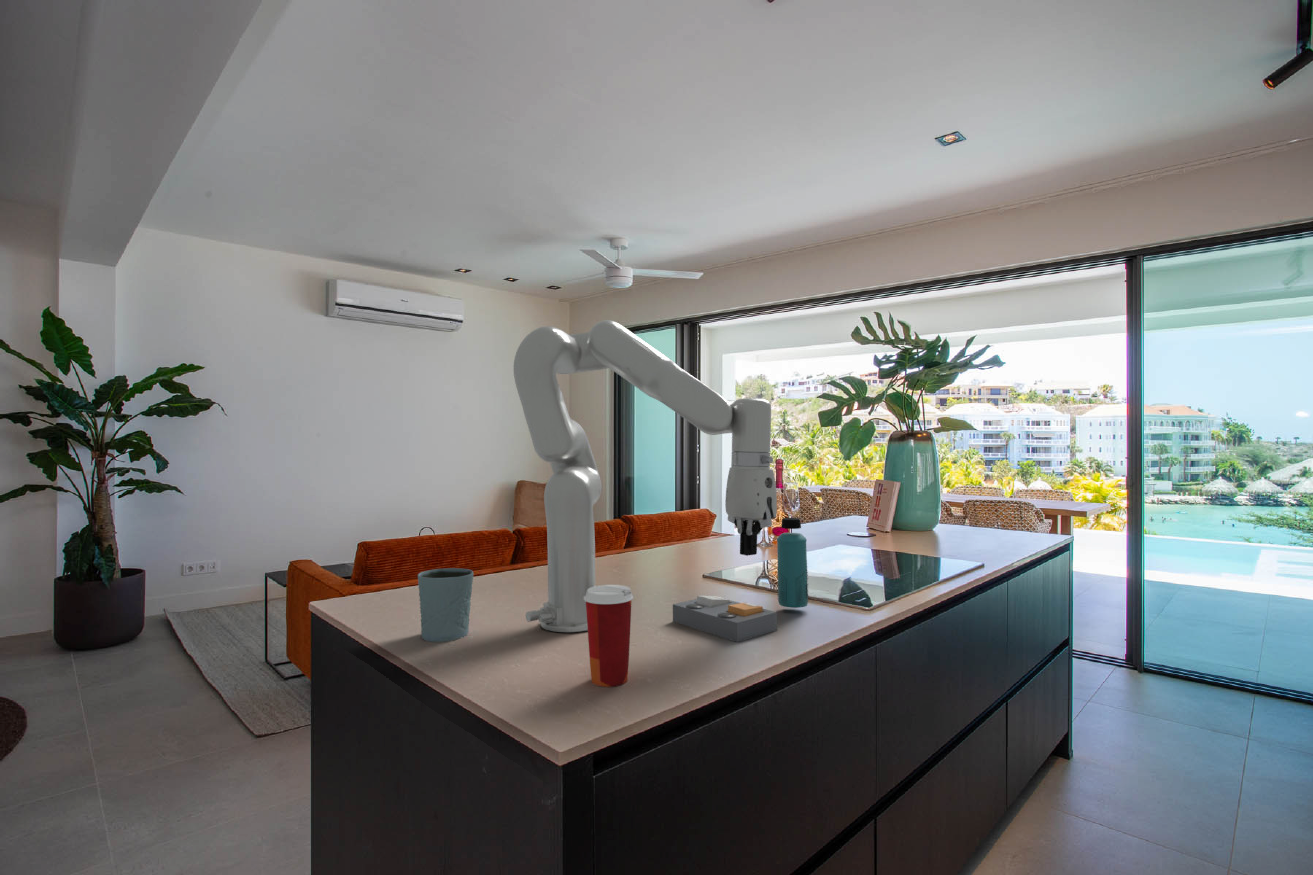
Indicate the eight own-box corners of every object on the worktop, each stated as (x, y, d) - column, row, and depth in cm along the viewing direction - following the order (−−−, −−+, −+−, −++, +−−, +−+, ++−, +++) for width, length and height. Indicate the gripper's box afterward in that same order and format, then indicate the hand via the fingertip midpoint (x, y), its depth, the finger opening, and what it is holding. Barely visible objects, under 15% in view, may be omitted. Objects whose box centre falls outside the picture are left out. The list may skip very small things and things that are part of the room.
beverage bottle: (811, 614, 135) (810, 519, 135) (779, 615, 135) (778, 519, 136) (805, 606, 142) (803, 515, 142) (774, 607, 142) (773, 516, 142)
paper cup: (642, 675, 101) (641, 586, 101) (619, 692, 94) (618, 597, 95) (599, 668, 105) (598, 582, 105) (574, 684, 98) (573, 592, 98)
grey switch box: (737, 641, 118) (737, 621, 118) (672, 621, 132) (672, 603, 132) (776, 630, 125) (776, 611, 125) (711, 611, 139) (711, 594, 139)
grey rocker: (711, 609, 129) (712, 598, 129) (696, 605, 133) (697, 595, 133) (728, 609, 132) (729, 599, 133) (713, 605, 136) (714, 595, 136)
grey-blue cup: (408, 635, 124) (408, 573, 124) (456, 624, 131) (456, 565, 131) (435, 646, 117) (434, 580, 117) (484, 634, 124) (483, 571, 125)
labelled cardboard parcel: (744, 620, 122) (744, 609, 122) (727, 615, 126) (728, 604, 126) (762, 617, 125) (762, 606, 125) (745, 612, 129) (745, 601, 129)
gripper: (793, 462, 124) (790, 558, 124) (736, 459, 135) (734, 547, 135) (767, 463, 119) (764, 562, 119) (710, 459, 131) (708, 550, 131)
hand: (748, 554), depth 127 cm, fingers closed
